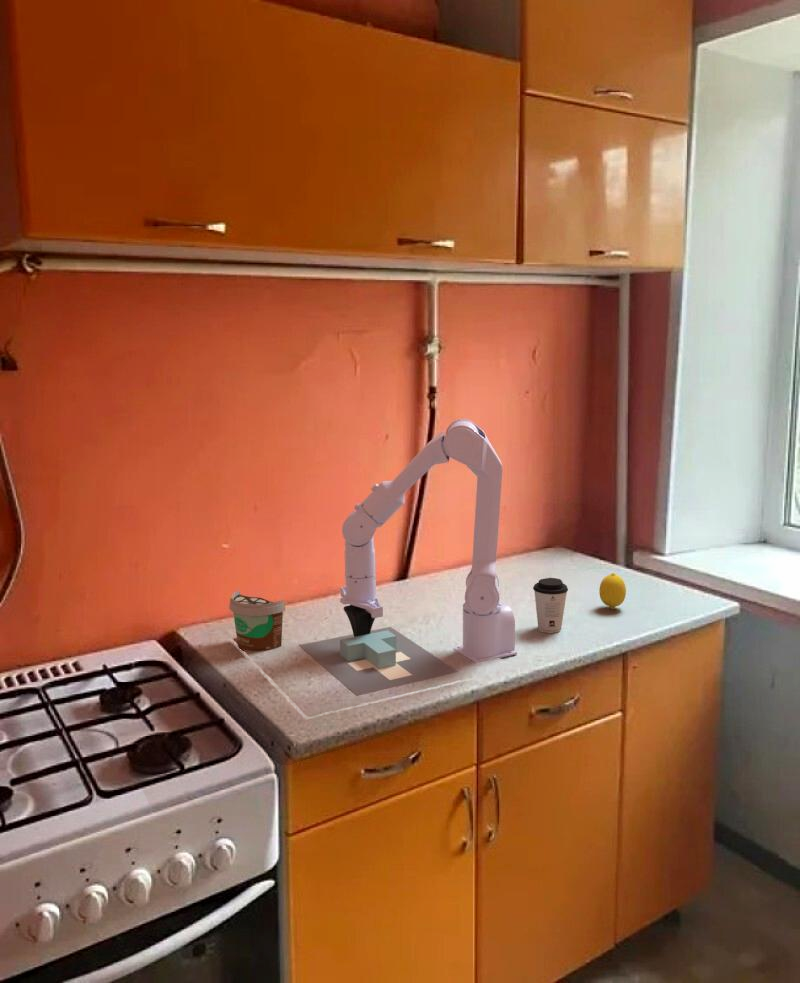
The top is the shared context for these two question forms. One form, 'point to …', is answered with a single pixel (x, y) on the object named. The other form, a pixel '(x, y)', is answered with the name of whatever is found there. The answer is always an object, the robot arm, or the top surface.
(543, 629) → the coffee cup
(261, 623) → the food container
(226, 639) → the top surface
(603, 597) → the lemon
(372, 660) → the t block
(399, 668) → the mat
